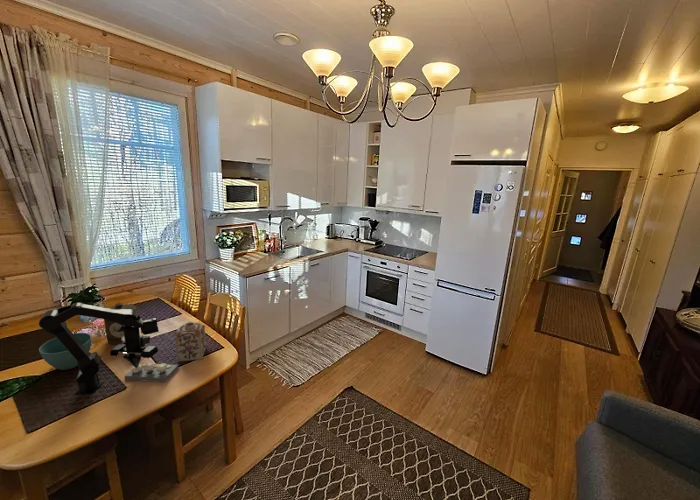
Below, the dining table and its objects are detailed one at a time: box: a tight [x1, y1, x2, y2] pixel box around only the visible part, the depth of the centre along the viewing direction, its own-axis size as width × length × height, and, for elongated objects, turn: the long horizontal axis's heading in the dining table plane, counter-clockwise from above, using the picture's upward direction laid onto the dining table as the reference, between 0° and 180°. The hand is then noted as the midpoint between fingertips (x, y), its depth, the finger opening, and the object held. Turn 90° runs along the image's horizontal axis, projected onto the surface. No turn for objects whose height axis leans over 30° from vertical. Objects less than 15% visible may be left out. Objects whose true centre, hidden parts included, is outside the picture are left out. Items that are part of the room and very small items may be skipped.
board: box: [124, 362, 179, 383], centre depth 142 cm, size 10×19×2 cm, turn 88°
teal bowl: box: [38, 332, 92, 371], centre depth 144 cm, size 18×18×12 cm
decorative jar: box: [175, 321, 207, 363], centre depth 156 cm, size 12×12×18 cm
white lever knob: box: [157, 362, 168, 374], centre depth 139 cm, size 4×4×4 cm
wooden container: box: [103, 302, 137, 347], centre depth 167 cm, size 15×15×22 cm
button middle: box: [144, 362, 155, 373], centre depth 139 cm, size 4×4×4 cm
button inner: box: [131, 364, 142, 373], centre depth 140 cm, size 4×4×4 cm
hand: (136, 367), depth 139 cm, fingers closed, pressing on button inner
